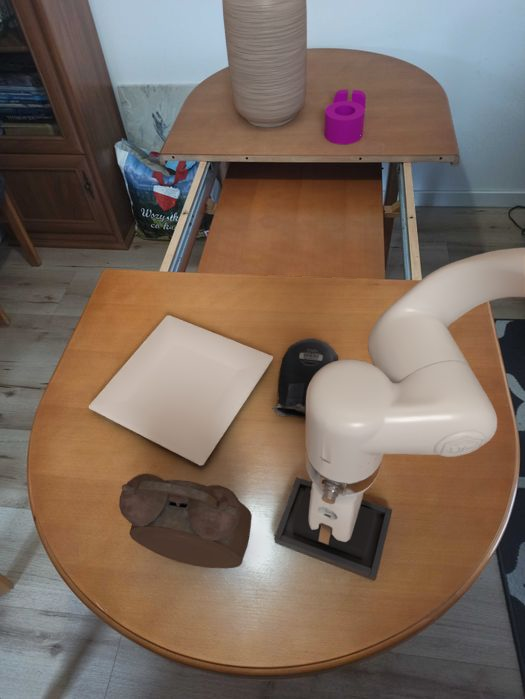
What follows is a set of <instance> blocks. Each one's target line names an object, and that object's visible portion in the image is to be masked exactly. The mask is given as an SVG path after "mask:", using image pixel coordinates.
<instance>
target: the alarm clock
mask: <svg viewBox="0 0 525 699" xmlns="http://www.w3.org/2000/svg"><path fill="white" fill-rule="evenodd" d="M118 507H119V510H120V513H121V515H122V517H123V518H124V519H125V520H126V521H127V522H129V523H130V524H131V526H130V529H129V533H128V534H129V536H130V538H131V539H132V540H133V541H134V542H136V543H137V544H139V545H140V546H141V547H144V548H145V549H147V550H149V551H151V552H153V553H155V554H156V555H159V556H161V557H164V558H165V559H169V560H171V561H175V562H178V563H182V564H185V565H190V566H194V567H199V568H208V569H233V568H237V567H240V566H241V565H242V564H243V562H244V557H245V554H246V552H247V549H248V547H249V546H248V545H249V541H250V536H251V527H252V520H253V514H252V512H251V510H250V509H249V508H248V506H246V505H245V504H244V503H242V502H241V500H239V498H238V497H237V495H236V493H235V492H234V491H233V490H231V489H230V488H228V487H227V486H223V485H220V484H214V485H213V484H212V485H211V484H210V485H207V484H203V483H199V482H195V481H188V480H181V479H166V480H165V479H163V478H162V477H160V476H158V475H156V474H151V473H141V474H138V475H136V476H134V477H132V478H131V479H130V480H128V481H127V483H124V484H122V486H121V492H120V494H119V502H118Z"/></svg>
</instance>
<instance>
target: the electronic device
mask: <svg viewBox="0 0 525 699" xmlns="http://www.w3.org/2000/svg"><path fill="white" fill-rule="evenodd" d="M338 360H339V354H337V352H336V351H335V349H334V347H333V346H332V345H330V344H329V343H328V342H326V341H323V340H321V339H318V338H315V337H307V338H303V339H299V340H298V341H295V342H294V343H292V344H291V345H289V346H288V347H287V350H286V352H285V353H284V355H283V357H282V360H281V364H280V367H279V368H280V369H279V376H278V384H277V385H278V386H277V394H278V399H277V405H273V407H272V408H271V409H272V411H273V412H274V413H275V415H277V416H281V417H282V416H283V417H293V418H302V419H306V394H307V389H308V386H309V383H310V381H311V380H312V378H313V376H314V375H315V374H316V373H317V372H318V371H319V370H320V369H321V368H322V367H324V366H325V365H327V364H329V363H332V362H334V361H338Z"/></svg>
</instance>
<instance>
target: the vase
mask: <svg viewBox="0 0 525 699" xmlns="http://www.w3.org/2000/svg"><path fill="white" fill-rule="evenodd" d="M221 2H222V3H221V6H222V19H223V28H224V37H225V38H224V39H225V46H226V47H225V48H226V56H227V64H228V73H229V82H230V89H231V96H232V100H233V105H234V108H235V110H236V111H237V113H238V114H239V115H240V116H241V117H242V118H244V119H245V120H246V121H247V122H248V124H251V125H253V126H256V127H259V128H276V127H281V126H283V125H286V124H288V123H290V122H292V121H293V119H294V118H295V117H296V115H297V114H298V113H300V111H301V109H303V106H304V105H305V102H306V98H307V86H308V85H307V84H308V83H307V80H308V79H307V78H308V77H307V75H308V74H307V73H308V7H307V0H221Z"/></svg>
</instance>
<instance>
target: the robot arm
mask: <svg viewBox="0 0 525 699" xmlns="http://www.w3.org/2000/svg"><path fill="white" fill-rule="evenodd" d="M506 298H525V247H514V248H503V249H496V250H491V251H487V252H482V253H479V254H475V255H471V256H469V257H465V258H463V259H460V260H456V261H453V262H450V263H447V264H445V265H444V266H441V267H439V268H438V269H435V270H434V271H432V272H431V273H429V274H428V275H426V276H425V277H423V278H421V280H420V281H418V282H417V283H416V284H415V285H413V286H412V287H411V288H409V290H407V291H406V292H405V293H404V294H403V295H401V296H400V297H399V298H398V299H397V300H395V302H394V303H392V304H391V305H390V306H388V308H386V309H385V311H383V312H382V313H381V315H380V316H379V317H378V318H377V319H376V321H375V322H374V324H373V325H372V327H371V329H370V331H369V333H368V336H367V351H368V355H369V357H370V361H371V363H369V361H365V360H361V359H355V358H345V359H344V358H343V359H338V361H334V362H332V363H329V364H327V365H325V366H324V367H322V368H321V369H320V370H319V371H318V372H317V373H316V374H315V375H314V376H313V378H312V380H311V381H310V383H309V386H308V389H307V394H306V418H305V457H304V458H305V468H306V472H307V474H308V476H309V478H310V481H311V482H312V489H311V492H310V493H311V496H310V505H309V525H310V528H311V529H312V530H313V529H314V530H315V529H318V528H319V524H321V529H320V534H319V540H318V541H320V542H322V543H325V544H328V545H329V542H330V538H331V535H333V536H334V537H335V538H336V539H337V540H339V541H343V542H347V541H348V540H349V539H350V538H351V535H352V532H353V529H354V525H355V522H356V519H357V515H358V512H359V508H360V505H361V501H362V499H363V498H364V493H365V492H366V491H367V490H368V489H370V488H371V487H372V486H373V484H374V483H375V481H376V479H377V478H378V476H379V473H380V472H379V471H380V468H381V465H382V462H383V457H384V455H413V456H415V455H416V456H440V457H446V458H454V457H461V456H465V455H468V454H471V453H473V452H475V451H477V450H478V449H480V448H482V447H483V446H485V445H486V444H487V443H489V442H490V441H491V440H492V438H493V437H494V436H495V434H496V432H497V430H498V429H497V428H498V416H497V414H496V410H495V408H494V406H493V404H492V402H491V400H490V398H489V396H488V395H487V393H486V391H485V390H484V388H483V386H482V385H481V383H480V382H479V379H478V378H477V376H476V375H475V373H474V371H473V370H472V368H471V366H470V364H469V362H468V361H467V359H466V357H465V355H464V354H463V352H462V350H461V349H460V347H459V345H458V344H457V342H456V340H455V339H454V337H453V335H452V333H451V332H450V331H449V328H448V327H450V325H453V323H454V322H456V321H457V320H458V319H460V318H461V317H462V316H464V315H465V314H467V313H468V312H470V311H472V310H473V309H475V308H477V307H478V306H481V305H483V304H486V303H487V302H491V301H496V300H499V299H506Z"/></svg>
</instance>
